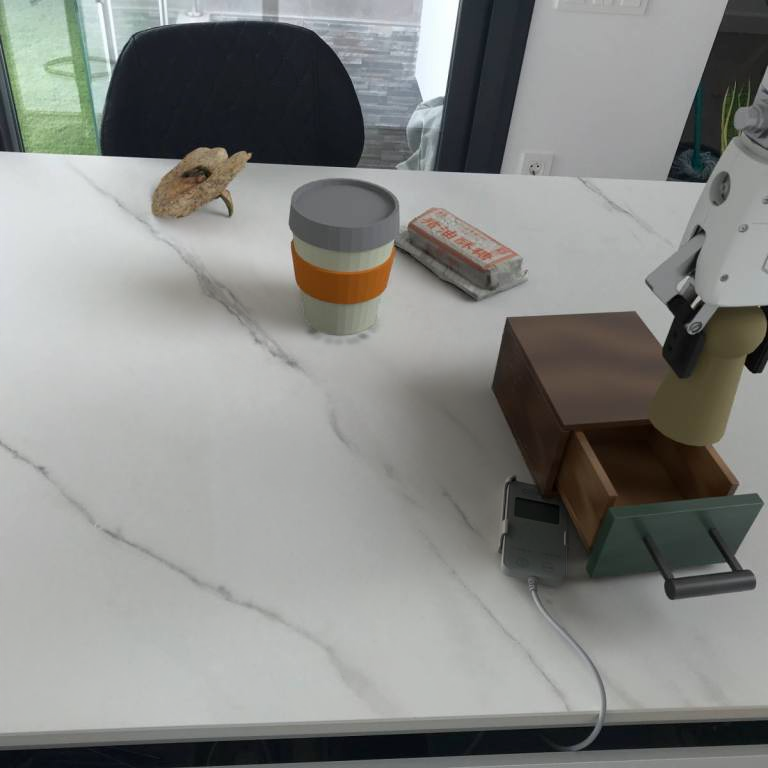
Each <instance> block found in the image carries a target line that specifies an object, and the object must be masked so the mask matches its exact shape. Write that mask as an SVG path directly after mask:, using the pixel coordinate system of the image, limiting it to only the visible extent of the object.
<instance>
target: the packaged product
mask: <svg viewBox="0 0 768 768" xmlns="http://www.w3.org/2000/svg"><path fill="white" fill-rule="evenodd" d="M394 246H395V247H398V248H400V249H401V250H404V251H406V252H407V253H409V254H410V255H411V256H412V257H413V258H414V259H415V260H417V261H418V262H420V263H421V264H423V265H424V266H425V267H427V268H428V269H429V270H430V271H432V272H433V273H434V274H435V275H436V276H437V277H438V278H439V279H441V280H443V281H446V282H447V283H450V284H453V285H454V286H455V287H458V288H460V289H461V290H462V291H464V292H465V293H466V294H468V295H469V296H470V297H471V298H473V299H475V300H476V301H481V300H483V299H486V298H488V297H490V296H494V295H496V294H498V293H501V292H503V291H506V290H508V289H511V288H513V287H515V286H518V285H521V284H523V283H526V282H528V279H529V269H524V268H523V267H522V265H523V263H524V262H523V259H524V257H522V255H520V254H519V253H517V252H515V250H512V249H511V248H509V247H507V246H506V245H505V244H502V242H499V241H498V240H496V239H494V238H493V237H491V236H490V235H488V234H487V233H485V232H483V231H482V230H479V229H478V228H477V227H475V226H473V225H471V224H470V223H468V222H466V221H465V220H463V219H462V218H459V217H458V216H456V215H454V214H453V213H451V212H450V211H448V210H446V208H443V207H431V208H428V209H427V210H426V211H424V212H423V213H421V214H420V215H418V216H416V217H414V218H413V219H412V220H410V221H409V222H408V224H407V230H405V231H401V232H399V233H398V235H397V236H396V238H395V239H394Z"/></svg>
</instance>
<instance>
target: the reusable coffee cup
mask: <svg viewBox="0 0 768 768" xmlns="http://www.w3.org/2000/svg"><path fill="white" fill-rule="evenodd" d="M288 215H289V216H288V227H289V230H290V231H291V233H292V239H291V241H290V242H291V243H290V252H291V258H292V265H293V272H294V280H295V282H296V285H297V287H298V288H299V291H300V298H301V304H302V312H303V317H304V319H305V321H306V322H307V324H308V325H310V326H311V327H312V328H314V329H316V330H318V331H320V332H322V333H325V334H329V335H334V336H335V335H336V336H346V335H347V336H348V335H356V334H359V333H362V332H365V331H366V330H368V329H369V328H371V327H372V326H373V325H374V324H375V322H376V319H377V315H378V311H379V308H380V303H381V298H382V294H383V293H384V292H385V290H386V289H387V287H388V283H389V279H390V275H391V270H392V267H393V264H394V263H393V262H394V258H395V254H396V248H395V247H396V245H394V239H395V238H396V236H397V235H398V234H399V233H400V230H401V225H400V224H401V223H400V221H401V220H400V219H401V218H400V217H401V216H400V202H399V200H398V198H397V196H396V195H395V194H394V193H393V192H392V191H390V190H389V189H387V188H385V187H384V186H381V185H379V184H377V183H373V182H371V181H367V180H363V179H357V178H350V177H349V178H347V177H330V178H329V177H328V178H323V179H322V178H321V179H317V180H313V181H310V182H307V183H305V184H303V185H301V186H299V187H297V189H295V190H294V191H293V192H292V195H291V198H290V207H289V214H288Z"/></svg>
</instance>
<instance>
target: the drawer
mask: <svg viewBox="0 0 768 768" xmlns="http://www.w3.org/2000/svg"><path fill="white" fill-rule="evenodd" d="M554 483H555V485H556V487H557V489H558V491H559V493H560V496H561V497H560V498H561V500H562V502H563V504H564V506H565V508H566V510H567V512H568V515H569V516H570V518H571V521H572V522H573V525H574V527H575V529H576V531H577V533H578V536H579V537H580V539H581V541H582V544H583V545H584V547H585V550H586V551H587V553H590V555H589V557H588V560H587V562H586V565H585V570H586V572H587V574H588V577H589V578H590V579H599V578H607V577H609V578H610V577H616V576H617V577H618V576H625V575H633V574H634V575H635V574H642V573H650V572H659V573H660V574H661V576H662V578H663V580H664V583H663V589H664V593H665V595H666V597H667V599H669V600H670V601H678V600H684V599H693V598H699V597H700V598H701V597H708V596H709V597H710V596H715V595H725V594H734V593H742V592H748V591H753V590H755V589H756V587H757V577H756V575H755V573H754V572H753V571H752V570H751V569H748V568H747V569H744V568H743V566H742V565H741V563H740V562H739V560H738V559H737V557H736V556H735V555H736V554H737V552H738V550H739V549H740V547H741V545H742V543H743V541H744V540H745V538H746V537H747V535H748V533H749V531H750V529H751V528H752V526H753V525H754V523H755V521H756V519H757V517H758V516H759V514H760V512H761V510H762V509H763V507H764V506H765V501H764V500H763V499H762V497H761V496H760V495H759V494H758V493H757V492H753V493H743V494H741V493H740V494H735V493H736V492H737V490H738V488H739V486H740V485H741V483H740V481H739V480H738V478H737V477H736V476H735V475H734V473H733V472H732V471H731V468H729V466H728V465H727V463H726V462H725V461H724V459H723V458H722V456H721V455H720V454H719V453H718V451H717V450H716V448H715V447H714V446H713V444H712V445H707V446H693V445H687V444H683V443H680V442H677V441H674V440H673V439H671V438H669V437H667V436H665V435H663V434H662V433H661V432H660V431H659V430H657V429H656V428H655V427H654V425H653V424H650V425H637V426H624V427H612V428H599V429H586V430H573V431H570V433H569V436H568V440H567V443H566V446H565V449H564V452H563V456H562V459H561V462H560V465H559V468H558V472H557V475H556V478H555V481H554ZM725 563H726V564H727V565H728V567H729V568H730V571H722V572H714V573H705V574H698V575H696V574H695V575H690V576H689V575H688V576H681V577H675V575H674V574H673V572H672V571H671V570H675V569H683V568H685V569H686V568H692V567H693V568H694V567H700V566H701V567H702V566H709V565H717V564H725Z"/></svg>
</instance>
